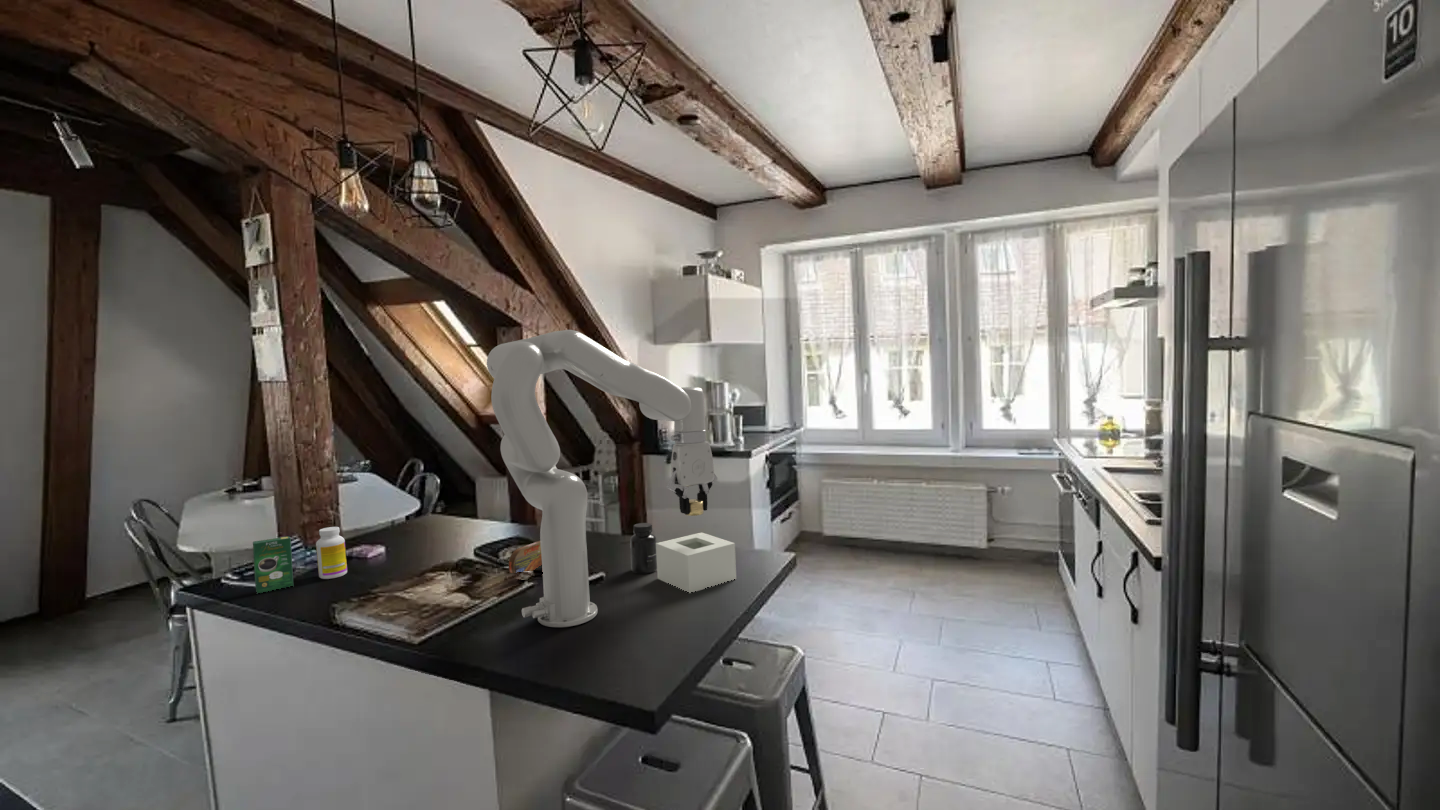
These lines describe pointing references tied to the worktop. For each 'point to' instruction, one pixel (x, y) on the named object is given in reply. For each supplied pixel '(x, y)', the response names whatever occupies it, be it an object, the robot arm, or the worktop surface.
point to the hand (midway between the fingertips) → (693, 510)
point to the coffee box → (272, 564)
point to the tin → (526, 558)
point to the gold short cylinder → (695, 507)
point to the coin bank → (696, 561)
